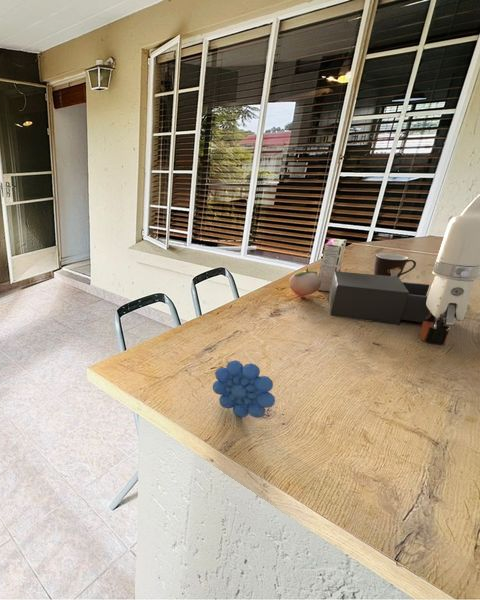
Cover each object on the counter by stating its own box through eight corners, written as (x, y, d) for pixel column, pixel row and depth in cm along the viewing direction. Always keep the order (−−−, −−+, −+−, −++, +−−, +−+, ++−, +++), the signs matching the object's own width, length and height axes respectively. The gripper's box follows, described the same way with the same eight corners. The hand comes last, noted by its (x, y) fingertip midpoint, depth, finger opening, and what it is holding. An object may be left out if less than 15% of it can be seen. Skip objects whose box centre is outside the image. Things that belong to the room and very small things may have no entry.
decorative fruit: (305, 303, 112) (311, 274, 109) (282, 296, 119) (287, 268, 116) (324, 298, 116) (330, 269, 112) (300, 290, 123) (306, 263, 119)
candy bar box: (321, 281, 130) (330, 238, 124) (337, 283, 127) (347, 239, 121) (314, 290, 123) (324, 244, 117) (331, 292, 120) (342, 245, 114)
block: (439, 337, 89) (444, 323, 87) (444, 344, 85) (450, 330, 84) (418, 334, 91) (423, 320, 89) (422, 341, 87) (427, 326, 86)
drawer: (452, 311, 100) (461, 286, 97) (468, 330, 89) (479, 302, 86) (368, 301, 109) (375, 278, 106) (375, 317, 99) (382, 292, 96)
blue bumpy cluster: (281, 422, 64) (292, 366, 60) (261, 439, 60) (271, 381, 56) (224, 392, 73) (230, 341, 68) (204, 405, 69) (209, 353, 65)
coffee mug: (369, 285, 124) (376, 258, 120) (368, 278, 131) (375, 252, 127) (413, 290, 118) (422, 262, 114) (409, 283, 124) (418, 255, 121)
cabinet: (389, 306, 107) (398, 276, 104) (399, 325, 96) (409, 292, 92) (328, 298, 115) (334, 271, 112) (330, 315, 104) (337, 285, 100)
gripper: (494, 282, 73) (463, 358, 79) (466, 262, 86) (441, 328, 93) (444, 278, 77) (419, 350, 83) (425, 259, 90) (404, 323, 96)
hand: (431, 338), depth 88 cm, fingers closed on block, 4 cm apart
